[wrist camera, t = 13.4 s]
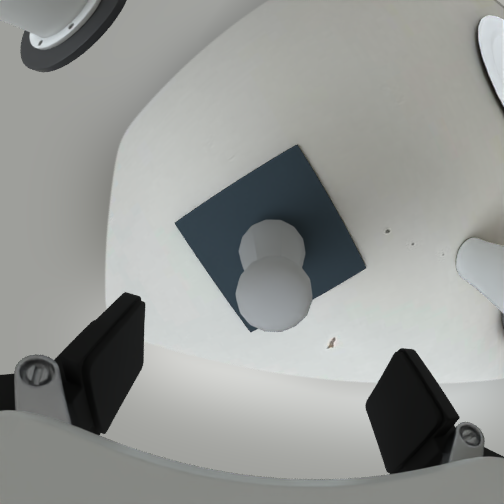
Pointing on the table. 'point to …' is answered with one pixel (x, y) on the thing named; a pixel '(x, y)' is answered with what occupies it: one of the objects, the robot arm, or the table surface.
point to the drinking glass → (483, 268)
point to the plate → (493, 51)
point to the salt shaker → (273, 277)
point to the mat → (272, 208)
